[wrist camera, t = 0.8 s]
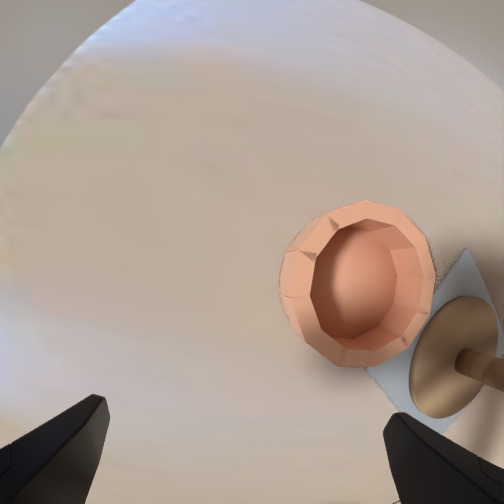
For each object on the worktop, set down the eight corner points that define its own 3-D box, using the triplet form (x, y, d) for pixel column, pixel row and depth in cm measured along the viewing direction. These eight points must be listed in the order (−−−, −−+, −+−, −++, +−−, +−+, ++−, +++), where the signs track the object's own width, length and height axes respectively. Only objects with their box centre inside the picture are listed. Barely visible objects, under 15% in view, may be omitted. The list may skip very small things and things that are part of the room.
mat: (506, 345, 24) (508, 346, 24) (427, 446, 22) (429, 448, 22) (465, 247, 24) (467, 247, 23) (364, 368, 22) (366, 369, 22)
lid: (492, 373, 23) (557, 395, 12) (415, 435, 22) (478, 486, 11) (483, 275, 23) (564, 276, 12) (397, 333, 22) (491, 366, 11)
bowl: (414, 315, 23) (445, 323, 18) (305, 370, 22) (323, 393, 17) (378, 197, 23) (407, 184, 18) (258, 240, 22) (266, 234, 17)
